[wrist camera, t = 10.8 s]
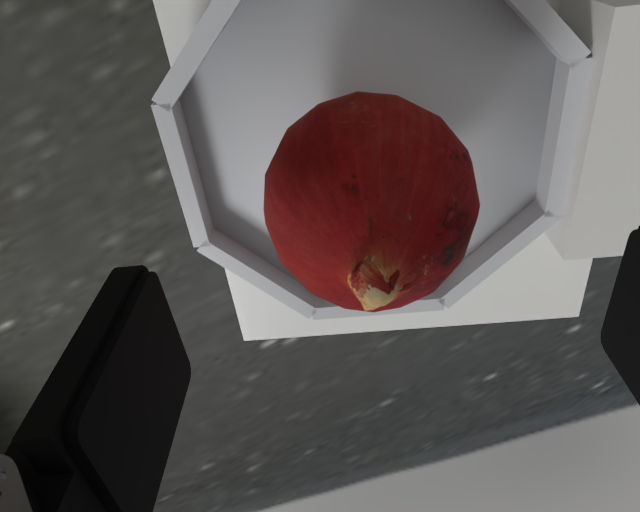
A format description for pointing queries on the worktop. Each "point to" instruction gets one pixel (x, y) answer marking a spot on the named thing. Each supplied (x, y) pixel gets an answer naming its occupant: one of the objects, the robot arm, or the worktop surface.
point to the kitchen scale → (435, 96)
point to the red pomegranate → (370, 201)
